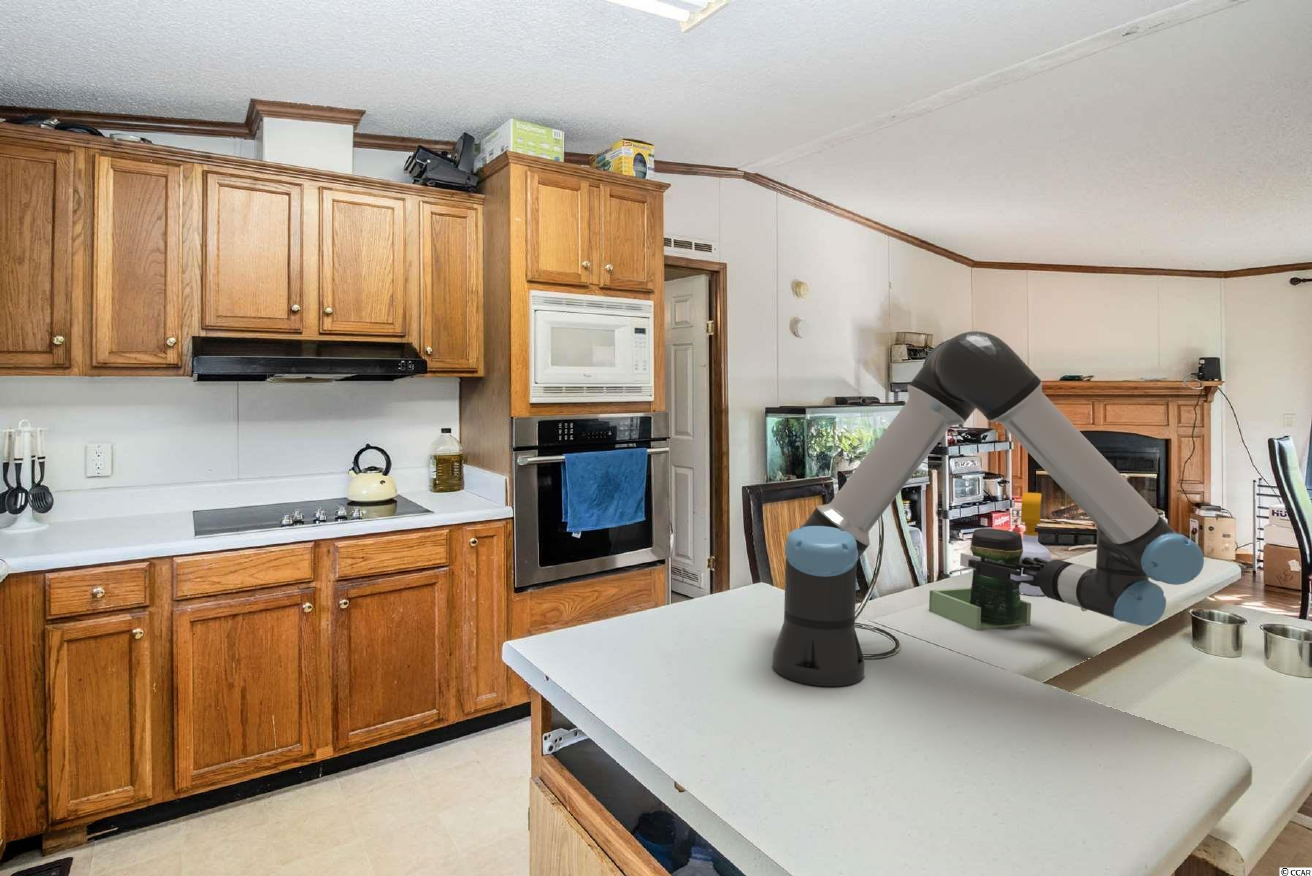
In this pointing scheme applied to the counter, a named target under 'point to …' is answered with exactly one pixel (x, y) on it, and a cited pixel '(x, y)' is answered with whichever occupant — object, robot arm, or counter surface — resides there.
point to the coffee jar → (992, 593)
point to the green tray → (970, 609)
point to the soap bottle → (1032, 537)
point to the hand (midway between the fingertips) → (979, 558)
